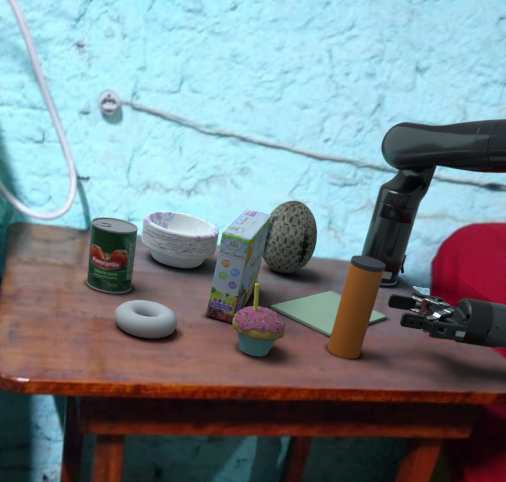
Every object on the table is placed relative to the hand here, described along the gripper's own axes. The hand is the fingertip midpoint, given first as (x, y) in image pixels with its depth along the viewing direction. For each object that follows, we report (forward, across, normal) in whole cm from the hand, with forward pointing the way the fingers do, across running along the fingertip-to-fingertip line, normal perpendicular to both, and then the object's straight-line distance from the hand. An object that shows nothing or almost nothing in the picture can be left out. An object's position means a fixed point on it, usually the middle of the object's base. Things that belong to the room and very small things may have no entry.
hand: (395, 309), depth 124 cm
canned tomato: (+48, -14, +9) cm, 51 cm away
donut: (+41, +3, +9) cm, 42 cm away
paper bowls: (+36, -35, +9) cm, 51 cm away
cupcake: (+23, +5, +9) cm, 25 cm away
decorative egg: (+13, -39, +9) cm, 42 cm away
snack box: (+25, -16, +9) cm, 31 cm away
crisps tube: (+7, 0, +9) cm, 11 cm away
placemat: (+6, -18, +9) cm, 21 cm away
